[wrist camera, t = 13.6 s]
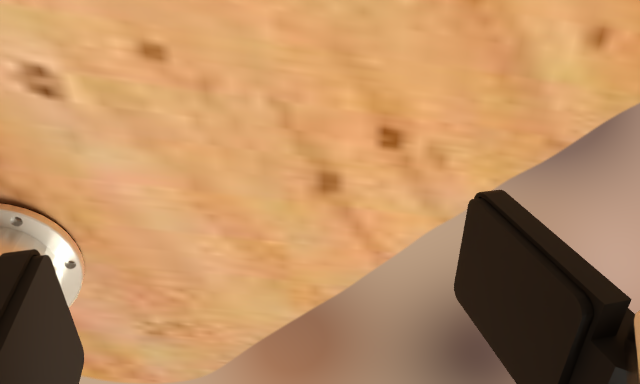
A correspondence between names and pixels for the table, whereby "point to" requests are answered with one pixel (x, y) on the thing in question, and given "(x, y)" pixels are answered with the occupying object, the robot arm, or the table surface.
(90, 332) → the table surface
